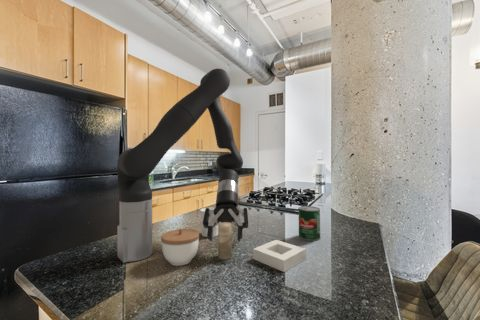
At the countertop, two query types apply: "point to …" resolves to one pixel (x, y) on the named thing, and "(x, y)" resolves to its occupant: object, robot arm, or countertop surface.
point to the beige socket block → (279, 255)
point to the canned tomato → (309, 223)
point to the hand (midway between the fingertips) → (224, 239)
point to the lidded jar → (180, 246)
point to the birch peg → (224, 241)
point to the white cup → (205, 230)
